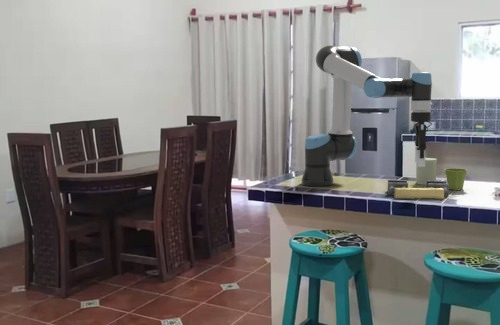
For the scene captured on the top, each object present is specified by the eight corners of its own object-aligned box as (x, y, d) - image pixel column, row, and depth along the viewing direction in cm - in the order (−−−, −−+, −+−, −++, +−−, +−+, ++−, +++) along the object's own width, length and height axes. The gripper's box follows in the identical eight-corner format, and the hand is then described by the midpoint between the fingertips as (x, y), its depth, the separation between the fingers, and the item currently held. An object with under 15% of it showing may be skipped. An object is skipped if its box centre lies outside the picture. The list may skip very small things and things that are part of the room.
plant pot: (440, 187, 229) (441, 168, 228) (461, 187, 229) (462, 168, 228) (448, 191, 220) (448, 171, 219) (470, 190, 220) (470, 171, 218)
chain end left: (388, 194, 214) (388, 183, 214) (387, 191, 223) (387, 179, 222) (407, 195, 212) (408, 183, 212) (406, 191, 221) (406, 180, 220)
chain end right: (428, 195, 211) (428, 184, 210) (426, 192, 219) (426, 180, 218) (448, 196, 209) (449, 184, 208) (445, 192, 217) (446, 181, 216)
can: (414, 181, 246) (415, 156, 244) (434, 181, 244) (435, 156, 242) (416, 184, 237) (417, 159, 235) (437, 185, 235) (438, 159, 233)
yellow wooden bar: (395, 199, 207) (395, 189, 207) (394, 197, 211) (394, 187, 210) (443, 199, 205) (444, 189, 204) (441, 197, 208) (441, 188, 208)
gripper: (434, 112, 190) (433, 168, 193) (427, 110, 214) (426, 160, 217) (413, 112, 192) (412, 168, 195) (409, 110, 216) (408, 160, 219)
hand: (419, 164), depth 206 cm, fingers open, 13 cm apart
